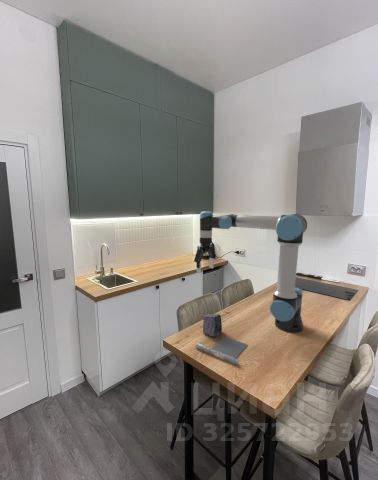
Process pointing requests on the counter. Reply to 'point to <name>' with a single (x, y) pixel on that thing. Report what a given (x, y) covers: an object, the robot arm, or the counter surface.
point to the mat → (229, 347)
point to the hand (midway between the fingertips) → (205, 270)
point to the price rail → (217, 354)
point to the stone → (212, 324)
